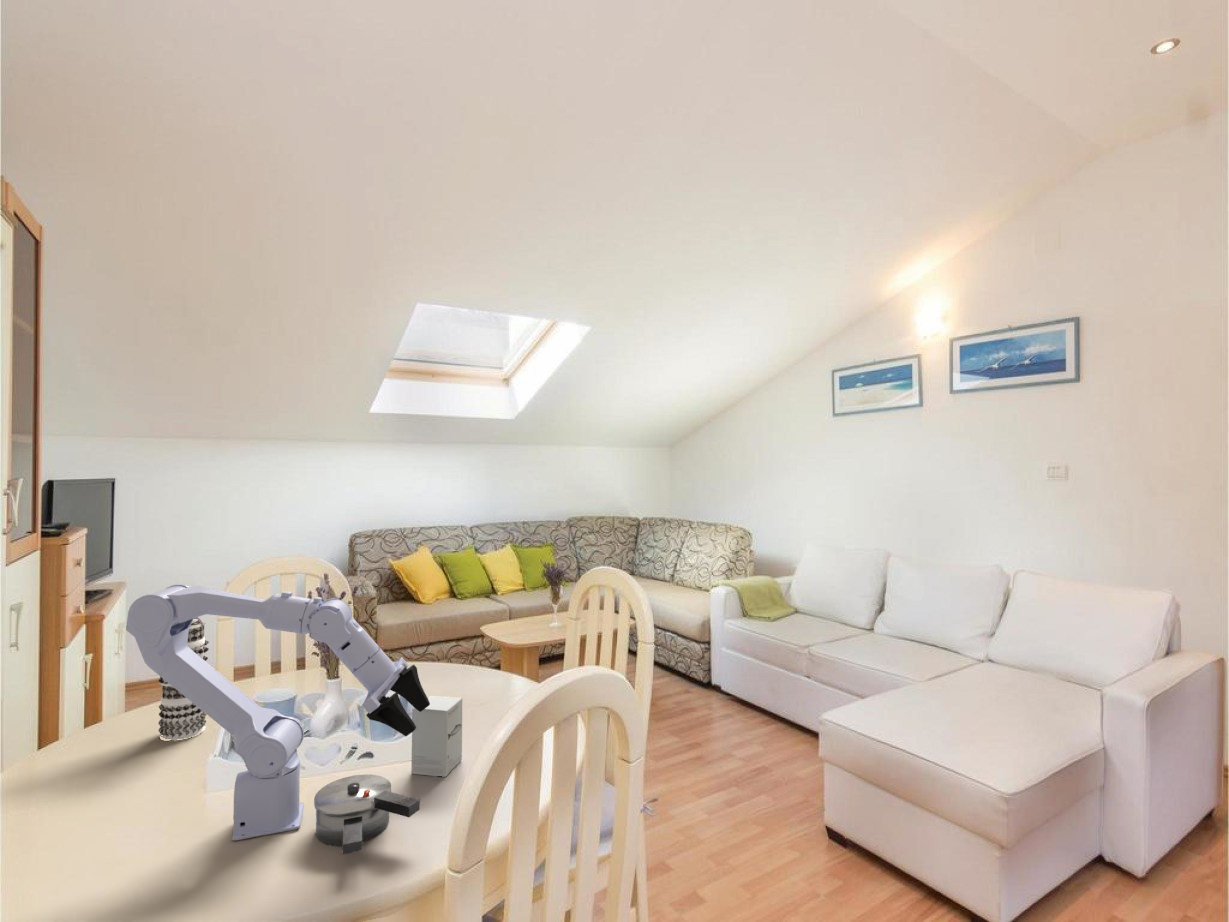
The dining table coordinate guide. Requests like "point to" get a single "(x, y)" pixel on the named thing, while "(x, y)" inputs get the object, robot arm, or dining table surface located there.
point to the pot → (350, 828)
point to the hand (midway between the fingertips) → (418, 719)
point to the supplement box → (437, 736)
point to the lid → (362, 797)
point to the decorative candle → (183, 697)
